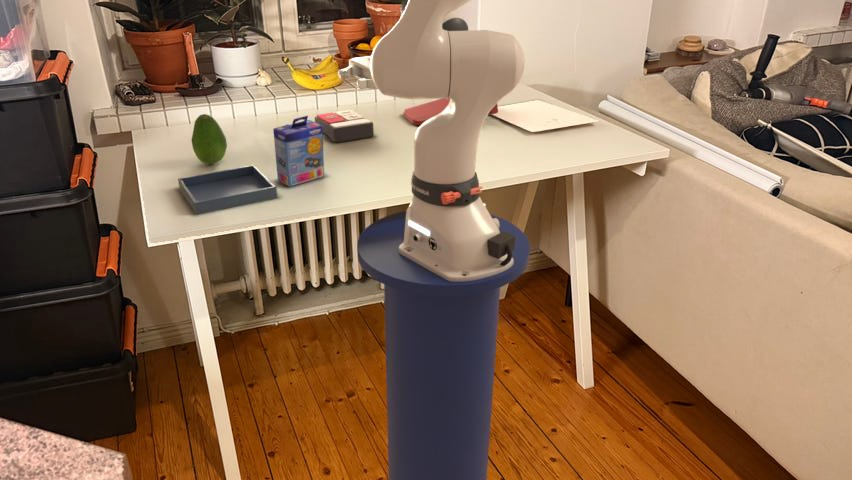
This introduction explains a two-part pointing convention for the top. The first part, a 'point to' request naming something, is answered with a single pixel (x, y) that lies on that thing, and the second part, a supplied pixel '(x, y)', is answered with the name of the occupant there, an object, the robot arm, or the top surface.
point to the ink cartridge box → (299, 151)
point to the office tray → (226, 189)
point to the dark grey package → (345, 125)
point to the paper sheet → (540, 116)
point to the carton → (430, 111)
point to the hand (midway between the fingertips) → (348, 79)
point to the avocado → (208, 140)
